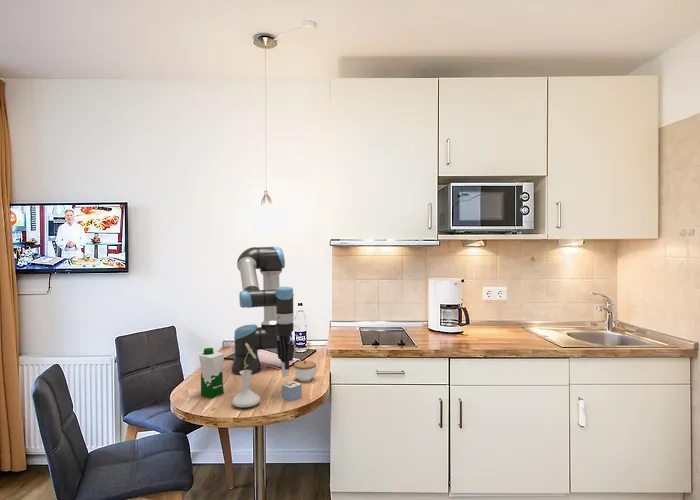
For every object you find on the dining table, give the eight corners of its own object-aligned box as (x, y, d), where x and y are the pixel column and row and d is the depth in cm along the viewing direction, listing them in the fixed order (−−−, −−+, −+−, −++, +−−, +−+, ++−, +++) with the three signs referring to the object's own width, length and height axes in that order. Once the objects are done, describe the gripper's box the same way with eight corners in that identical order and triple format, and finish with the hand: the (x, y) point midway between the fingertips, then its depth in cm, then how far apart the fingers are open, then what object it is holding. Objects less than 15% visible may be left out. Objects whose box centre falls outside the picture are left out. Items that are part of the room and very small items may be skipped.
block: (290, 387, 174) (290, 401, 174) (301, 383, 178) (301, 397, 178) (281, 384, 178) (281, 398, 178) (292, 380, 182) (292, 394, 182)
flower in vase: (258, 409, 165) (257, 347, 165) (229, 410, 164) (228, 348, 164) (262, 397, 178) (261, 340, 178) (235, 398, 177) (234, 340, 177)
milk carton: (213, 389, 189) (212, 346, 188) (227, 393, 184) (226, 348, 183) (197, 395, 181) (196, 350, 181) (211, 399, 176) (210, 353, 176)
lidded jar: (312, 384, 195) (312, 364, 195) (291, 382, 197) (290, 363, 197) (318, 376, 205) (318, 358, 205) (298, 375, 207) (298, 356, 207)
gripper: (269, 321, 182) (269, 374, 182) (286, 325, 172) (287, 381, 173) (283, 319, 187) (283, 370, 187) (300, 323, 178) (301, 377, 178)
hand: (285, 376), depth 180 cm, fingers closed
